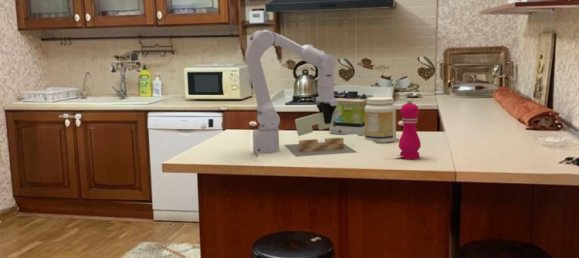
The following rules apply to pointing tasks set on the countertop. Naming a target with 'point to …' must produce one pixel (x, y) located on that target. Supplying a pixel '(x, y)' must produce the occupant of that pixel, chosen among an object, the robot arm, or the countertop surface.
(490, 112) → the countertop surface
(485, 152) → the countertop surface
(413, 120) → the pepper mill
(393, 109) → the supplement tub
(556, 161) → the countertop surface
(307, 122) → the sage notched plate
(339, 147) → the oak slotted plate
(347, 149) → the board
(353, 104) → the tea box
